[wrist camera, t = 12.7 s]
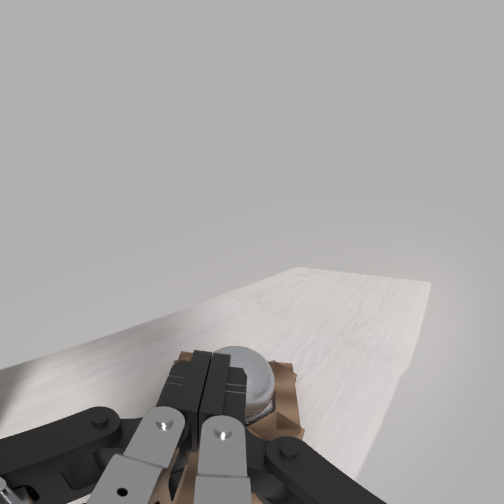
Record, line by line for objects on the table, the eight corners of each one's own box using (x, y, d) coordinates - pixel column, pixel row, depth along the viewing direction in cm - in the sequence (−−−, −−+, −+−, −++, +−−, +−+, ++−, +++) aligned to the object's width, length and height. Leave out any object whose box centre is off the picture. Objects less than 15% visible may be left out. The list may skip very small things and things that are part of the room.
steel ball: (189, 337, 40) (184, 404, 39) (219, 356, 31) (211, 437, 30) (255, 339, 45) (247, 401, 44) (295, 355, 36) (284, 428, 35)
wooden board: (315, 568, 16) (321, 564, 15) (108, 543, 16) (103, 536, 15) (292, 371, 49) (295, 361, 49) (179, 358, 49) (179, 349, 49)
